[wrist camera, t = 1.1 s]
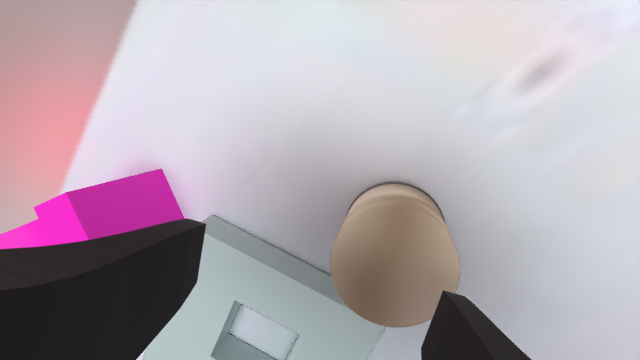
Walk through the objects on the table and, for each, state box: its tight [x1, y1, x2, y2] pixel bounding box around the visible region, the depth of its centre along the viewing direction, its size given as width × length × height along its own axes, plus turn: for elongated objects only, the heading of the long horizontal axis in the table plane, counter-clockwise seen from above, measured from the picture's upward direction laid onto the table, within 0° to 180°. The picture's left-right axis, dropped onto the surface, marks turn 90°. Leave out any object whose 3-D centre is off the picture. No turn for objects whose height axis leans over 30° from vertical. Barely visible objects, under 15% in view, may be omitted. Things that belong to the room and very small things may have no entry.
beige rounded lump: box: [330, 182, 460, 327], centre depth 18 cm, size 5×5×7 cm
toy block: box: [0, 169, 184, 249], centre depth 23 cm, size 15×6×8 cm, turn 112°
